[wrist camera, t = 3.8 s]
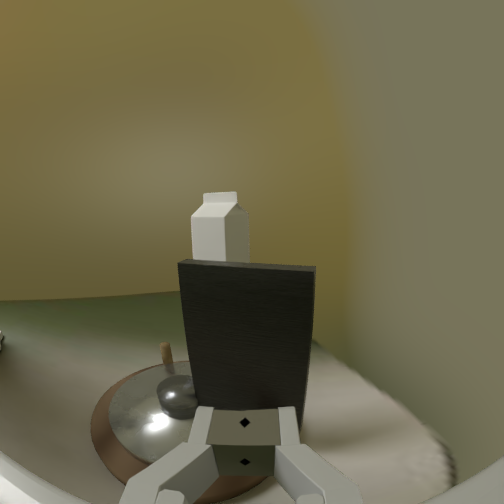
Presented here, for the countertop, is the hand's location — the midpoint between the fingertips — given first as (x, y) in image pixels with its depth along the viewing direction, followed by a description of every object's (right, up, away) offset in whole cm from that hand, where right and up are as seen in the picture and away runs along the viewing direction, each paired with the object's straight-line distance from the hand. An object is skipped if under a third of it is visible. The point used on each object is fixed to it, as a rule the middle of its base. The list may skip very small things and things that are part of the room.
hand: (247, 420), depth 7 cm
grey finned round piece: (-4, -10, +15) cm, 19 cm away
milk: (-4, -8, +35) cm, 36 cm away
